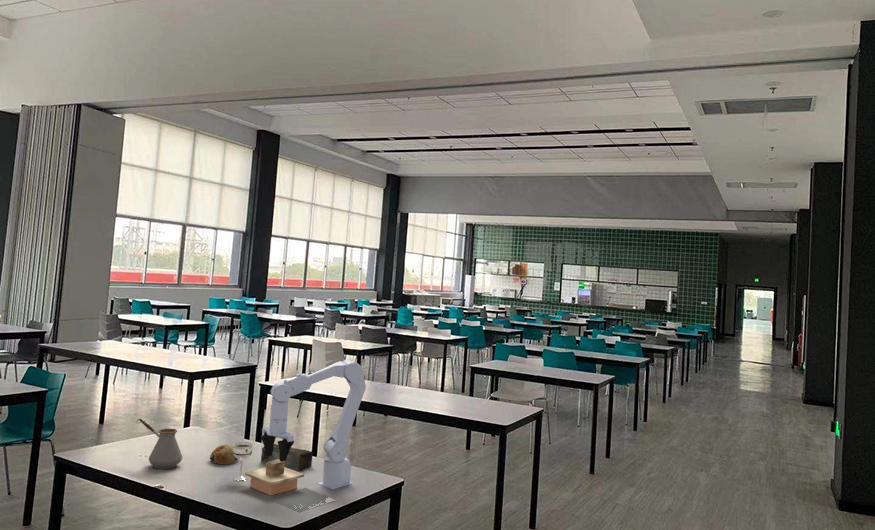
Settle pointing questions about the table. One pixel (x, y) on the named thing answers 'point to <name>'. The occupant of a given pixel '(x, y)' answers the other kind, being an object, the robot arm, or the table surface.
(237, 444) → the wineglass
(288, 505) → the mat
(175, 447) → the coffee pot
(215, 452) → the bread roll
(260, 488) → the orange open box
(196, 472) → the table surface
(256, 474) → the lid
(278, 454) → the beverage carton
